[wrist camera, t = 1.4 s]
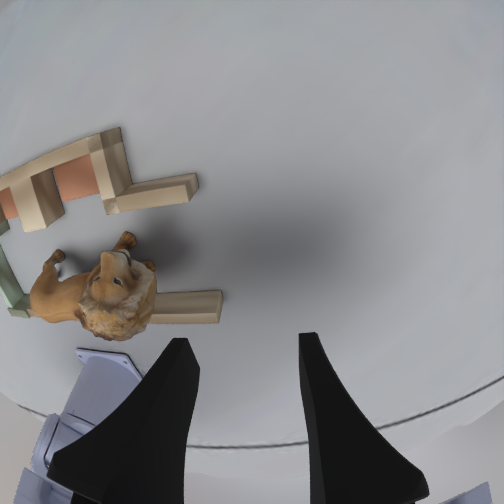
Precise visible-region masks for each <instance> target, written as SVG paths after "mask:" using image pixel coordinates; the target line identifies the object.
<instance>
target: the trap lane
mask: <svg viewBox="0 0 504 504" xmlns="http://www.w3.org/2000/svg"><path fill="white" fill-rule="evenodd" d="M52 167H53V170H54V173H55V177H56V181H57V184H58V188H59V191H60V194H61V197H62V201H63V202H66V201H69V200H73V199H77V198H81V197H85V196H88V195H92V194H97V193H100V194H101V198H102V201H103V204H104V208H105V211H106V214H107V215H110V214H116V213H121V212H127V211H133V210H139V209H145V208H151V207H158V206H164V205H171V204H178V203H185V202H189V201H190V200H191V198H192V197H193V195H194V194H195V193H196V191H197V190H198V188H199V187H198V181H197V176H196V173H192V174H186V175H180V176H174V177H168V178H163V179H157V180H152V181H147V182H142V183H137V184H132V181H131V177H130V172H129V168H128V164H127V160H126V155H125V151H124V146H123V141H122V137H121V132H120V127H119V128H115V129H111V130H108V131H104V132H101V133H98V134H95V135H92V136H89V137H87V138H84V139H81V140H79V141H76V142H74V143H71V144H69V145H66V146H64V147H61V148H59V149H57V150H55V151H52V152H50V153H48V154H46V155H43V156H41V157H39V158H37V159H35V160H33V161H31V162H29V163H27V164H25V165H23V166H21V167H19V168H17V169H15V170H13V171H12V172H10V173H8V174H6V175H4V176H3V177H1V178H0V236H1V235H2V234H3V233H4V232H6V231H7V230H8V229H10V228H9V225H8V223H7V220H8V219H11V218H14V217H17V216H19V217H20V220H21V223H22V225H23V228H24V231H25V233H26V232H30V231H34V230H38V229H43V228H47V227H48V226H49V225H51V224H52V223H53V222H54V221H56V220H57V219H58V218H60V217H61V216H62V215H63V214H65V212H64V209H63V206H62V203H61V200H60V197H59V194H58V190H57V187H56V184H55V180H54V176H53V173H52V169H51V168H52ZM2 208H3V209H2ZM6 219H7V220H6ZM0 293H1V295H2V297H3V298H4V300H5V302H6V303H7V305H8V307H9V308H8V311H9V312H10V314H11V316H16V317H23V318H30V317H40V316H38V315H37V314H35V313H34V312H33V310H32V308H31V305H30V294H24V293H23V291H22V290H21V288H20V286H19V284H18V282H17V280H16V278H15V276H14V274H13V272H12V270H11V268H10V266H9V264H8V262H7V260H6V257H5V255H4V253H3V251H2V248H1V246H0ZM154 305H155V306H154V311H153V313H152V316H151V320H150V321H149V322H148V323H147V324H206V323H219V320H220V315H221V310H222V305H223V297H222V293H221V290H220V291H202V292H180V293H156V298H155V304H154ZM75 321H80V320H75Z"/></svg>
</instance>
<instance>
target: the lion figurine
mask: <svg viewBox="0 0 504 504" xmlns="http://www.w3.org/2000/svg"><path fill="white" fill-rule="evenodd" d="M135 244H136V240H135V237H134V236H133V235H132V234H131V233H128V232H124V233H123V235H122V237H121V238H120V240H119V241H118V243H117V244H116V246H115V248H114V249H113V250H111V251H103V252H102V253H101V261H100V262H99V264H98V265H97V266H96V267H95V268H94V269H93V270H92V272H86V273H82V274H78V275H74V276H72V277H69V278H67V279H66V280H64V281H63V282H59V281H58V277H57V270H56V268H55V266H54V265H55V264H56V263H61V262H62V261H63V260H64V255H63V253H62V252H61V251H60V250H56V251H55V252H54V253H53V254H52V256H51V257H50V258H49V259H48V260H47V261H46V262H45V263H44V265H43V272H42V273H41V275H40V276H39V277H38V278H37V280H36V282H35V284H34V285H33V287H32V289H31V292H30V305H31V308H32V310H33V312H34V313H35V314H37V315H38V316H40V317H41V318H42V319H44V320H46V321H47V322H50V323H58V322H62V321H67V320H80V322H81V324H82V326H83V328H84V329H87V330H89V331H91V332H93V334H94V336H95V337H101V338H103V339H104V340H108V341H112V340H116V341H124V340H127V339H131V338H132V337H133V336H134V335H136V334H138V333H140V332H143V331H144V330H145V329H146V325H147V323H148V322H149V321H150V320H151V316H152V313H153V311H154V306H155V305H154V304H155V298H156V292H157V282H156V277H155V273H154V272H155V266H154V264H153V263H152V262H151V261H144V262H142V263H140V262H137V261H136V260H133V259H130V254H129V251H130V249H131V248H132V247H134V245H135Z"/></svg>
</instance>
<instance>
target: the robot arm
mask: <svg viewBox="0 0 504 504" xmlns="http://www.w3.org/2000/svg"><path fill="white" fill-rule="evenodd" d="M75 353H76V354H77V356H78V357H79V358H80V360H81V361H82V362H83V364H84V367H83V369H82V371H81V373H80V375H79V377H78V379H77V382H76V384H75V386H74V388H73V390H72V392H71V394H70V396H69V399H68V401H67V403H66V405H65V407H64V410H63V412H62V413H61V415H60V416H59V415H57V414H56V413H54V414H50V415H48V417H47V419H46V421H45V423H44V425H43V428H42V430H41V432H40V435H39V437H38V440H37V443H36V445H35V448H34V451H33V453H34V454H33V456H32V459H31V463H30V464H31V466H32V468H31V470H32V471H30V470H29V469H27V468H24V469H23V472H22V475H21V478H20V482H19V485H18V488H17V492H16V495H15V498H14V502H13V503H14V504H184V466H185V453H186V443H187V437H188V432H189V427H190V423H191V419H192V414H193V410H194V406H195V401H196V397H197V392H198V385H199V375H200V367H199V365H198V362H197V360H196V358H195V355H194V353H193V351H192V348H191V346H190V343H189V341H188V339H187V338H173V339H172V340H171V341H170V343H169V344H168V345H167V347H166V348H165V350H164V351H163V352H162V354H161V355H160V356H159V358H158V359H157V361H156V362H155V363H154V365H153V366H152V367H151V369H150V370H149V371H148V372H147V374H146V375H145V376H144V378H143V379H142V377H141V376H140V374H139V373H138V371H137V370H136V368H135V367H134V365H133V364H132V362H131V361H130V359H129V358H128V356H126V355H124V354H115V353H106V352H98V351H90V350H83V349H76V350H75ZM299 375H300V389H301V395H302V401H303V407H304V413H305V420H306V426H307V432H308V440H309V458H310V504H415V502H416V501H419V500H421V499H424V498H426V497H428V496H429V488H428V485H427V482H426V479H425V477H424V474H423V473H422V471H421V470H419V469H418V468H417V467H415V466H414V465H413V464H411V463H410V462H409V461H408V460H407V459H406V458H404V457H403V456H402V455H401V454H400V453H399V452H398V451H397V450H396V449H395V448H394V447H392V446H391V445H390V443H389V442H388V441H387V440H386V439H385V438H384V437H383V436H382V435H381V434H380V433H379V432H378V431H377V430H376V429H375V428H374V426H373V425H372V424H371V423H370V422H369V421H368V419H367V418H366V417H365V416H364V414H363V413H362V412H361V410H360V409H359V408H358V407H357V405H356V404H355V402H354V401H353V400H352V398H351V397H350V395H349V394H348V392H347V391H346V389H345V388H344V386H343V384H342V383H341V381H340V379H339V378H338V376H337V374H336V372H335V371H334V369H333V367H332V365H331V363H330V362H329V360H328V358H327V356H326V354H325V351H324V349H323V347H322V345H321V342H320V340H319V337H318V334H317V333H315V332H310V333H299ZM47 465H48V466H49V467H48V466H47ZM440 504H492V499H491V494H490V489H489V484H488V482H485V483H483V484H481V485H479V486H477V487H475V488H473V489H471V490H469V491H467V492H464V493H462V494H459V495H457V496H455V497H453V498H451V499H449V500H447V501H445V502H442V503H440Z"/></svg>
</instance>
